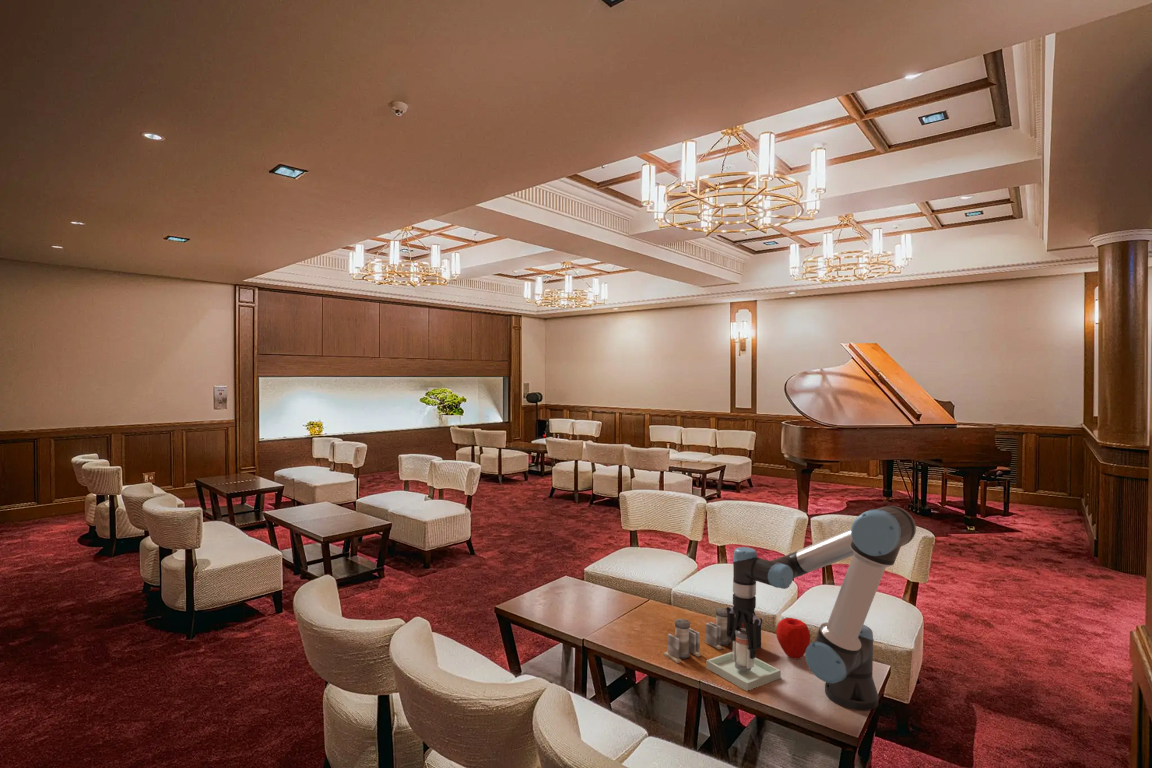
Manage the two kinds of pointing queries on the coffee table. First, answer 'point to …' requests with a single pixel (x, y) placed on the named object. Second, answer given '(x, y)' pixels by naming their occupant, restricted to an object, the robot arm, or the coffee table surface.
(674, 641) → the clip rack
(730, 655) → the tray
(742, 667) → the cylinder
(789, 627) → the apple
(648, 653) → the coffee table surface
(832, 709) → the coffee table surface
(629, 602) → the coffee table surface
